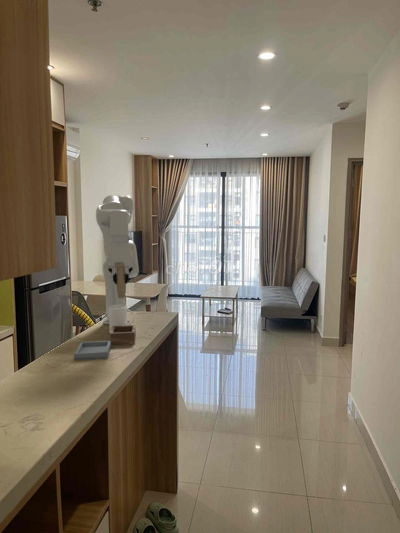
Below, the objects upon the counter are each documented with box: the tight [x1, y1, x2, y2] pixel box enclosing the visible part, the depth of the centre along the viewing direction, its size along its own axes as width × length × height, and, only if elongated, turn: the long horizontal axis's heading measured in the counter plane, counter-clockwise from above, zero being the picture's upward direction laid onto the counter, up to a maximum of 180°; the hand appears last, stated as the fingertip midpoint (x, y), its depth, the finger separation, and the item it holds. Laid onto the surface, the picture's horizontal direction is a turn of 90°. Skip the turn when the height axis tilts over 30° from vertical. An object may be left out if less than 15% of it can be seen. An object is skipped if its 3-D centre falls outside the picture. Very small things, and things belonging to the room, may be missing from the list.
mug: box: [108, 304, 135, 334], centre depth 179 cm, size 12×8×12 cm
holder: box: [109, 324, 137, 346], centre depth 167 cm, size 11×10×5 cm
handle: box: [115, 263, 127, 299], centre depth 164 cm, size 5×6×15 cm
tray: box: [73, 340, 112, 361], centre depth 152 cm, size 14×12×2 cm
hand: (121, 282), depth 164 cm, fingers closed on handle, 3 cm apart
